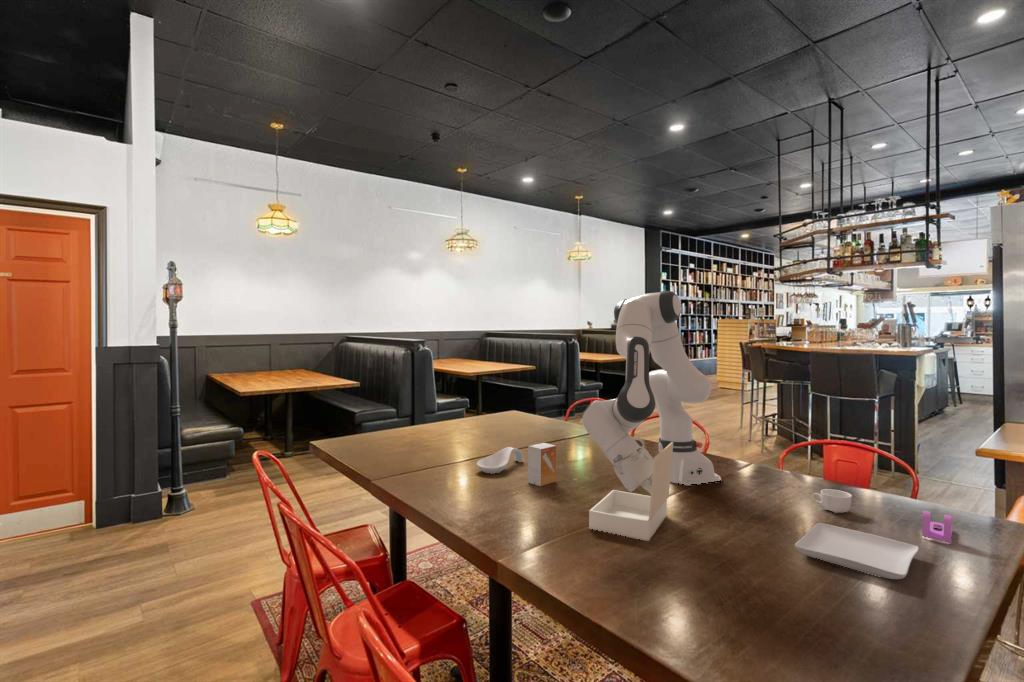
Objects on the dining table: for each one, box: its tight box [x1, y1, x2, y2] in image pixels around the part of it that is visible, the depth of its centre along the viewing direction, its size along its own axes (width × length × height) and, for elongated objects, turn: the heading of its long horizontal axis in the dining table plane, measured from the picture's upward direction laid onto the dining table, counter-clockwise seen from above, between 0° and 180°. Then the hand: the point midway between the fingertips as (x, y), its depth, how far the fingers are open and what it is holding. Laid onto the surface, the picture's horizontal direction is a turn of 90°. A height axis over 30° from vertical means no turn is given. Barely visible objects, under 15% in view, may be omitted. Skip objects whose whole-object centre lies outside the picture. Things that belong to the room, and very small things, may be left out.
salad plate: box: [794, 522, 920, 580], centre depth 118 cm, size 21×21×3 cm
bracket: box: [921, 510, 953, 544], centre depth 131 cm, size 13×6×7 cm, turn 137°
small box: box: [527, 442, 557, 487], centre depth 176 cm, size 8×6×13 cm
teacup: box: [811, 488, 853, 513], centre depth 149 cm, size 10×8×5 cm
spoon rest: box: [476, 446, 525, 475], centre depth 194 cm, size 24×12×7 cm, turn 144°
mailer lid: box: [649, 442, 673, 520], centre depth 135 cm, size 16×20×1 cm
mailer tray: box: [588, 489, 668, 542], centre depth 139 cm, size 16×20×5 cm
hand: (657, 494), depth 135 cm, fingers closed, pressing on mailer lid
